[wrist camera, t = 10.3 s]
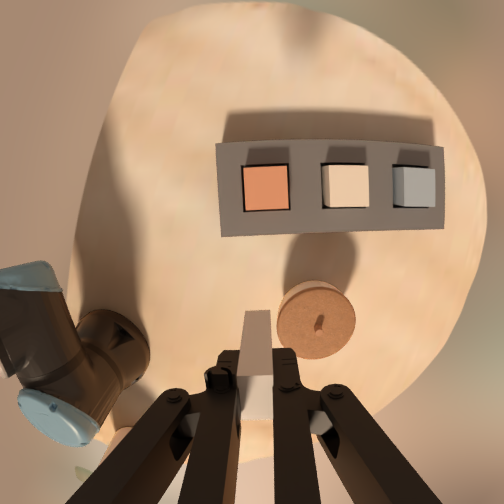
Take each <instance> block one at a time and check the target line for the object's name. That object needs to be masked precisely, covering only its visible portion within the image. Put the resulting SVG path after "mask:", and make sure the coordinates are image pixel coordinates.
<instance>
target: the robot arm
mask: <svg viewBox="0 0 504 504" xmlns="http://www.w3.org/2000/svg"><path fill="white" fill-rule="evenodd" d="M62 292H63V290H62V288H60V285H59V283H58V280H57V278H56V275H55V272H54V270H53V268H52V266H51V265H50V264H49V263H48V262H46V261H35V262H30V263H26V264H22V265H17V266H12V267H9V268H4V269H0V377H2V378H5V379H7V378H9V377H11V376H12V375H14V374H16V375H17V377H18V379H19V381H20V383H21V384H22V386H23V389H21V390H20V391H19V395H18V405H19V407H20V409H21V411H22V413H23V414H24V416H25V417H26V418H27V419H28V420H29V421H30V422H31V424H32V425H34V426H35V427H36V428H37V429H38V430H39V431H41V432H42V433H43V434H45V435H46V436H48V437H49V438H51V439H53V440H54V441H57V442H59V443H61V444H63V445H66V446H70V447H83V446H86V445H87V444H89V443H90V441H91V440H92V439H93V437H94V436H95V434H96V433H98V432H99V430H100V428H101V426H102V424H103V423H104V421H105V419H106V417H107V415H108V414H109V412H110V410H111V408H112V407H113V405H114V403H115V402H116V400H117V398H118V396H119V395H120V393H121V392H122V391H123V390H124V389H126V388H128V387H129V386H130V385H132V384H134V383H136V382H137V381H138V380H140V378H141V377H142V376H143V375H144V373H145V371H146V369H147V368H148V365H149V361H150V353H149V348H148V345H147V342H146V340H145V338H144V337H143V335H142V333H141V332H140V331H139V330H138V328H137V327H136V326H135V325H134V324H133V323H132V322H131V321H129V320H128V319H127V318H125V317H124V316H122V315H120V314H118V313H116V312H113V311H109V310H95V311H92V312H90V313H89V314H87V315H86V316H85V317H84V318H82V319H81V320H80V322H79V323H78V324H77V326H76V328H75V325H74V323H73V320H72V318H71V315H70V313H69V310H68V307H67V304H66V302H65V299H64V296H63V293H62ZM204 377H205V383H206V388H207V389H206V391H204V392H202V393H198V394H193V395H189V394H188V392H187V391H186V390H183V389H180V388H173V389H169V390H166V391H164V392H163V393H162V394H161V395H160V396H159V397H158V398H157V400H156V401H155V402H154V403H153V404H152V405H151V407H150V408H149V409H148V410H147V411H146V412H145V414H144V415H143V416H142V417H141V418H140V419H139V421H138V422H137V423H136V424H135V425H134V426H133V428H132V429H131V430H130V431H129V432H128V433H127V435H126V436H125V437H124V438H123V439H122V440H121V441H120V443H119V444H118V445H117V446H116V447H115V448H114V449H113V451H112V452H111V453H110V454H109V455H108V456H107V457H106V459H105V460H104V461H103V462H102V463H101V464H100V465H99V466H98V468H97V469H96V470H95V471H94V472H93V473H92V474H91V475H90V477H89V478H88V479H87V480H86V481H85V482H84V483H83V485H82V486H81V487H80V488H79V489H78V490H77V491H76V492H75V493H74V495H72V497H71V498H70V499H69V500H68V501H67V502H66V503H65V504H158V502H159V501H160V499H161V498H162V496H163V495H164V493H165V491H166V490H167V488H168V487H169V485H170V484H171V482H172V480H173V479H174V477H175V476H176V474H177V473H178V471H179V469H180V468H181V466H182V465H183V463H184V461H185V460H186V458H187V456H188V455H189V453H190V455H189V459H188V463H187V468H186V472H185V476H184V480H183V484H182V488H181V492H180V496H179V500H178V504H234V503H235V492H236V480H237V469H238V459H239V448H240V436H241V422H240V420H273V437H274V492H275V493H274V494H275V495H274V496H275V497H274V498H275V504H321V500H320V492H319V485H318V478H317V471H316V465H315V458H314V451H313V444H312V438H311V433H312V434H316V435H317V438H318V440H319V442H320V444H321V445H322V447H323V449H324V451H325V453H326V455H327V456H328V458H329V460H330V462H331V464H332V465H333V467H334V469H335V471H336V472H337V474H338V476H339V478H340V480H341V481H342V483H343V485H344V487H345V488H346V490H347V492H348V494H349V495H350V497H351V499H352V501H353V502H354V504H442V503H441V501H440V500H439V499H438V498H437V496H436V495H435V494H434V493H433V492H432V491H431V489H430V488H429V487H428V485H427V484H426V483H425V482H424V481H423V479H422V478H421V477H420V476H419V475H418V473H417V472H416V471H415V469H414V468H413V467H412V466H411V465H410V463H409V462H408V461H407V460H406V458H405V457H404V456H403V455H402V454H401V452H400V451H399V450H398V449H397V447H396V446H395V445H394V444H393V442H392V441H391V440H390V439H389V437H388V436H387V435H386V434H385V433H384V431H383V430H382V429H381V427H380V426H379V425H378V424H377V422H376V421H375V420H374V419H373V417H372V416H371V415H370V414H369V412H368V411H367V410H366V409H365V407H364V406H363V405H362V404H361V402H360V401H359V400H358V399H357V397H356V396H355V395H354V394H353V392H352V391H351V390H350V389H349V388H348V387H347V386H344V385H341V384H331V385H328V386H325V387H324V388H323V389H322V390H321V391H314V390H310V389H308V388H306V387H304V386H303V385H302V383H301V381H300V375H299V369H298V364H297V358H296V352H295V351H294V350H293V349H292V348H272V338H271V317H270V310H259V311H245V317H244V325H243V332H242V339H241V347H240V350H224V351H223V352H222V353H221V354H220V355H219V356H218V360H217V364H216V366H214V367H211V368H209V369H208V370H206V372H205V373H204Z"/></svg>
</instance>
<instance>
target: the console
mask: <svg viewBox="0 0 504 504" xmlns="http://www.w3.org/2000/svg"><path fill="white" fill-rule="evenodd" d="M215 145H216V164H217V181H218V197H219V211H220V226H221V237H233V236H253V235H275V234H299V233H325V232H353V231H385V230H425V229H444V217H445V168H444V149H443V147H439V146H431V145H421V144H411V143H400V142H386V141H369V140H343V139H287V140H260V141H243V142H229V143H217V144H215ZM328 165H358V166H368V176H369V207H329V206H326V205H324V204H322V184H321V167H323V166H328ZM271 166H287V184H288V207H289V208H287V209H264V210H246V204H245V187H244V169H243V168H251V167H271ZM398 167H410V168H425V169H435V207H411V206H400V205H396V204H393V178H392V168H398Z"/></svg>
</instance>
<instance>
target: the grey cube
mask: <svg viewBox="0 0 504 504" xmlns="http://www.w3.org/2000/svg"><path fill="white" fill-rule="evenodd" d="M392 178H393V204H396V205H400V206H411V207H435V169H425V168H410V167H398V168H392Z"/></svg>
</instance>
